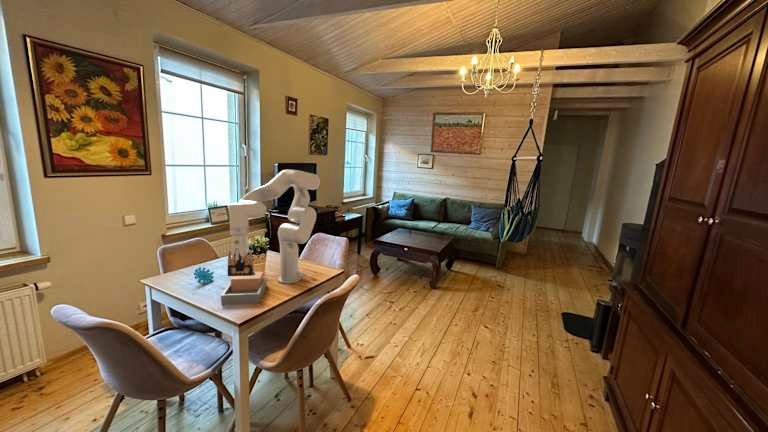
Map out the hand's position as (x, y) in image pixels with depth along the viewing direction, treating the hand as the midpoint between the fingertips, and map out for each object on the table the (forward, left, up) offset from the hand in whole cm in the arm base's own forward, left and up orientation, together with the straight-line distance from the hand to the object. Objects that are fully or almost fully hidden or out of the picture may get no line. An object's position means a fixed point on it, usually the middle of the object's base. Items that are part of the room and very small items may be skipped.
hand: (240, 269), depth 139 cm
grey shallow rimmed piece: (0, -7, -15) cm, 17 cm away
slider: (0, -12, -14) cm, 18 cm away
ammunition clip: (0, 0, -3) cm, 3 cm away
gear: (+24, -25, -16) cm, 38 cm away
